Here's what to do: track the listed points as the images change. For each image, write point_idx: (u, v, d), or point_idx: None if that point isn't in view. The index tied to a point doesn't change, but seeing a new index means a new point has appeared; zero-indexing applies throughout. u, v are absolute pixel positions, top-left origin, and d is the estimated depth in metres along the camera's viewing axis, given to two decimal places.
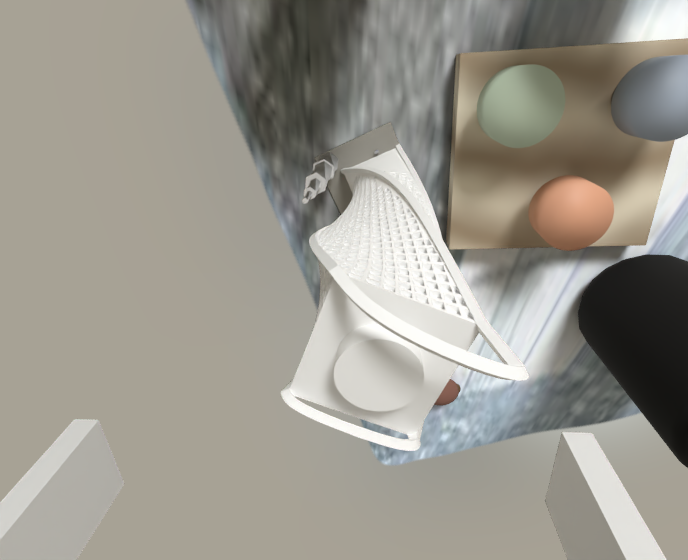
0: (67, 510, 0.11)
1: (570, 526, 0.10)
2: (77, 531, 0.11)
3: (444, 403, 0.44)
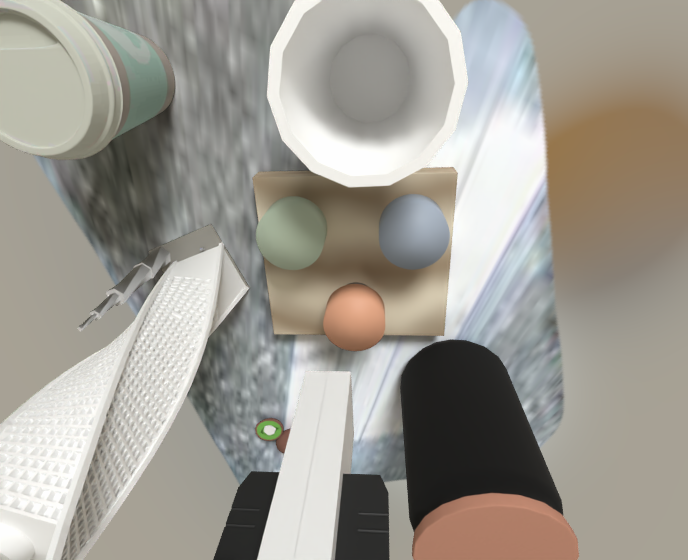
0: None
1: None
2: None
3: None
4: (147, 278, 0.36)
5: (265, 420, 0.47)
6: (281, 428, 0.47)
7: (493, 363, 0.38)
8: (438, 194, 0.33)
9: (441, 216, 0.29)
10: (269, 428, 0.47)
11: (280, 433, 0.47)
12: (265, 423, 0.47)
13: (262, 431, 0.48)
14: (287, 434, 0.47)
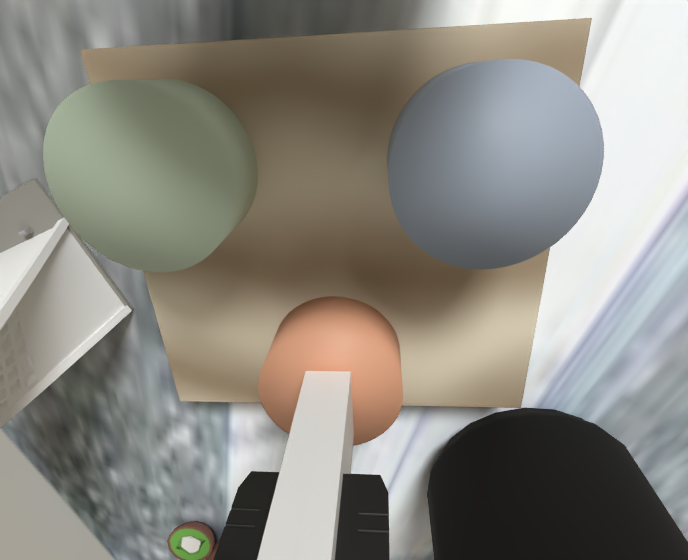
0: None
1: None
2: None
3: None
4: None
5: (182, 527, 0.27)
6: (209, 541, 0.27)
7: (629, 469, 0.18)
8: None
9: (584, 101, 0.09)
10: (189, 541, 0.27)
11: (209, 549, 0.27)
12: (182, 532, 0.27)
13: (178, 546, 0.27)
14: None
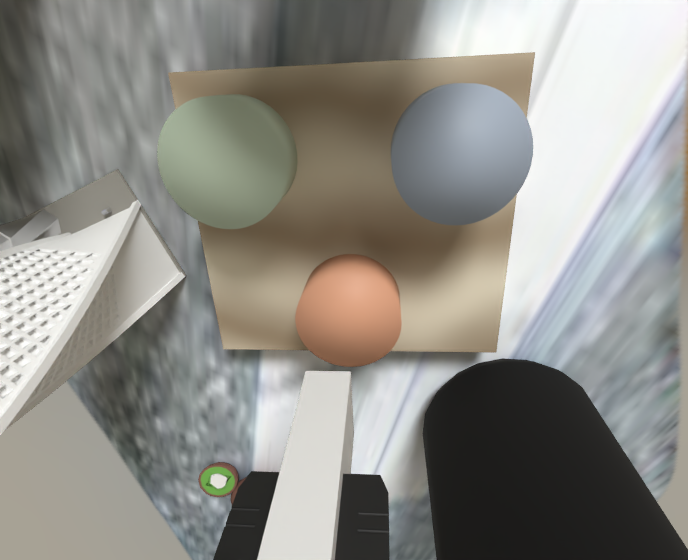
0: None
1: None
2: None
3: None
4: None
5: (210, 466, 0.32)
6: (234, 477, 0.31)
7: (581, 399, 0.23)
8: None
9: (518, 110, 0.14)
10: (217, 478, 0.32)
11: (234, 484, 0.32)
12: (210, 471, 0.32)
13: (208, 483, 0.32)
14: None
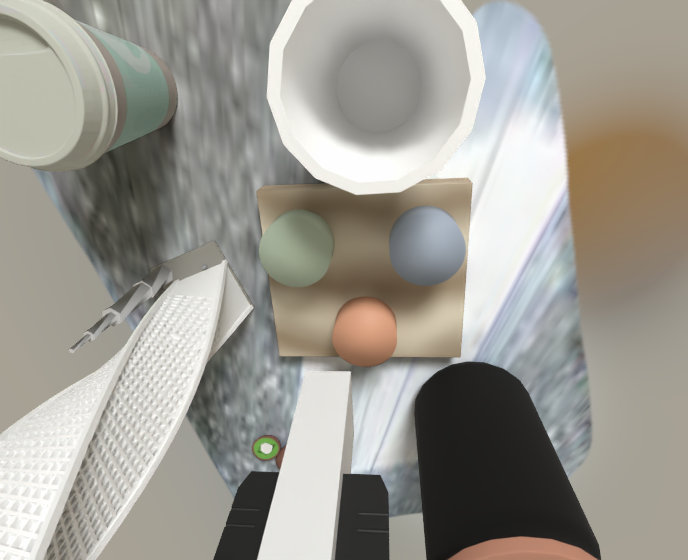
0: None
1: None
2: None
3: None
4: (147, 297, 0.34)
5: (260, 438, 0.44)
6: (278, 444, 0.44)
7: (515, 387, 0.35)
8: (452, 206, 0.31)
9: (456, 228, 0.27)
10: (265, 446, 0.44)
11: (278, 450, 0.44)
12: (260, 441, 0.44)
13: (259, 450, 0.45)
14: None
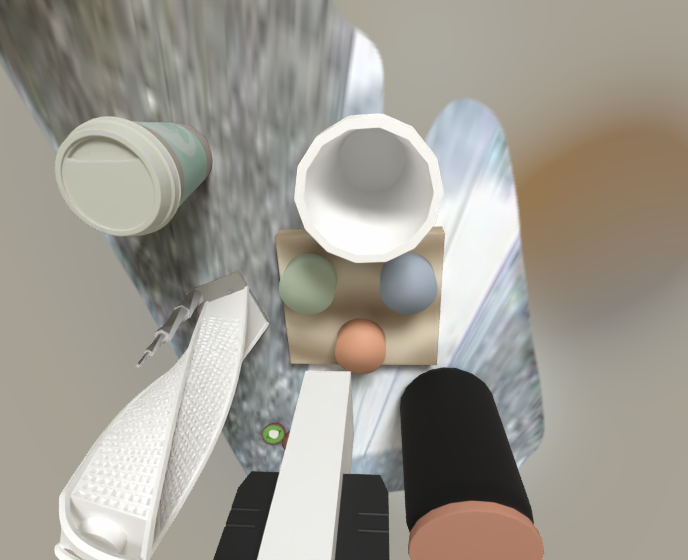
0: None
1: None
2: None
3: None
4: (185, 318, 0.43)
5: (268, 426, 0.53)
6: (283, 430, 0.53)
7: (479, 389, 0.44)
8: (429, 250, 0.40)
9: (430, 273, 0.36)
10: (272, 432, 0.53)
11: (283, 435, 0.53)
12: (268, 428, 0.53)
13: (267, 436, 0.53)
14: None
